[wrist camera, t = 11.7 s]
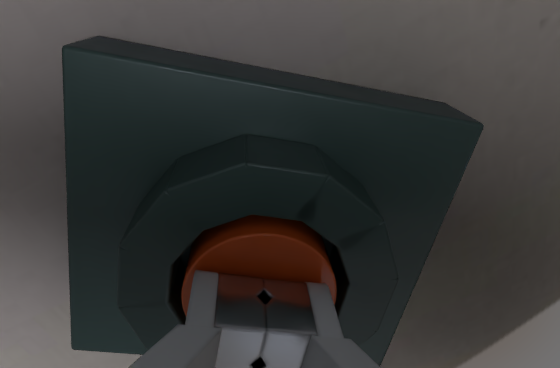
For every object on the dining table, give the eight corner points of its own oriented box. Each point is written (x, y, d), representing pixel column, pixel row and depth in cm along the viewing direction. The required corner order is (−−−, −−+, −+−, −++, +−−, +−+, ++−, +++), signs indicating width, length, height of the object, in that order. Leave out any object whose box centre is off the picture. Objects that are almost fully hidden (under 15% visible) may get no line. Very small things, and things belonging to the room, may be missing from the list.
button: (338, 206, 10) (355, 244, 9) (307, 311, 12) (317, 360, 10) (198, 186, 10) (189, 224, 8) (184, 299, 11) (174, 349, 10)
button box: (446, 102, 12) (534, 150, 8) (361, 324, 15) (396, 424, 12) (96, 34, 10) (14, 56, 7) (95, 300, 14) (42, 406, 10)
